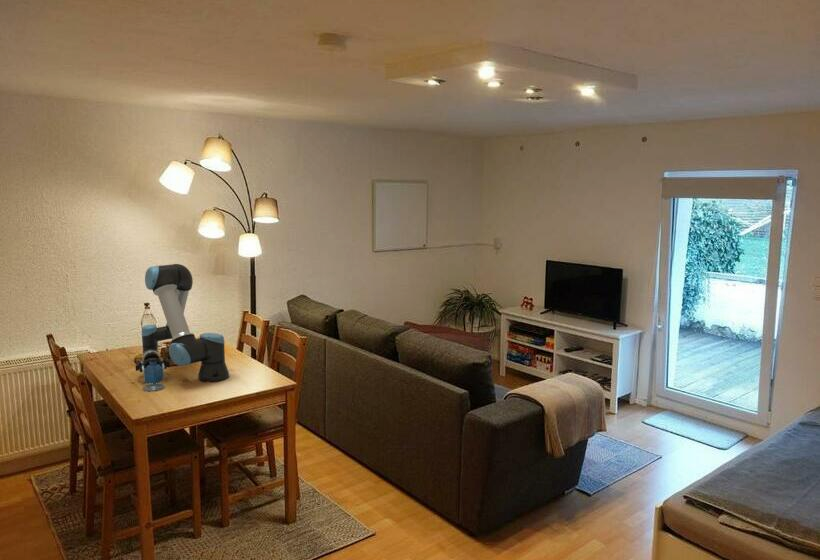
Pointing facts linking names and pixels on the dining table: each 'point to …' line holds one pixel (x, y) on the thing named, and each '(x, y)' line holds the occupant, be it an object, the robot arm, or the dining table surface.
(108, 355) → the dining table surface
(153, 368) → the perfume bottle
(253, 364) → the dining table surface
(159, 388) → the coaster
